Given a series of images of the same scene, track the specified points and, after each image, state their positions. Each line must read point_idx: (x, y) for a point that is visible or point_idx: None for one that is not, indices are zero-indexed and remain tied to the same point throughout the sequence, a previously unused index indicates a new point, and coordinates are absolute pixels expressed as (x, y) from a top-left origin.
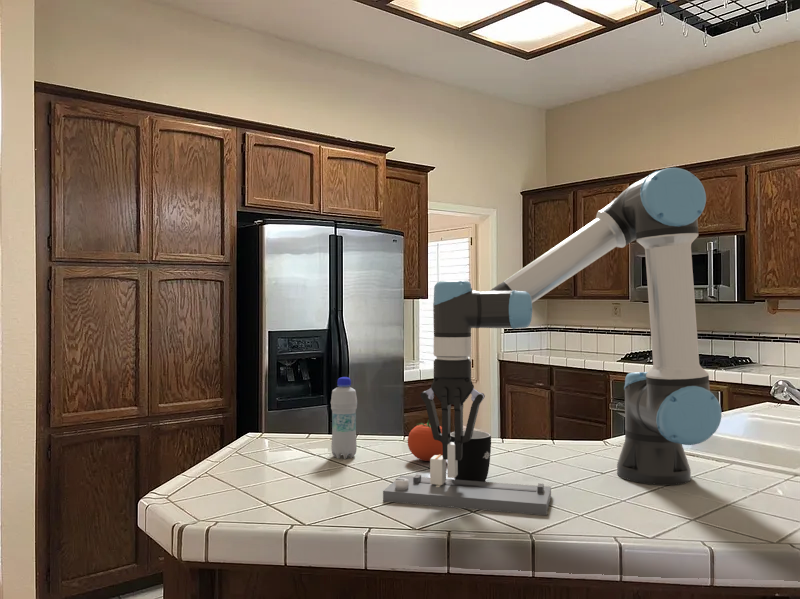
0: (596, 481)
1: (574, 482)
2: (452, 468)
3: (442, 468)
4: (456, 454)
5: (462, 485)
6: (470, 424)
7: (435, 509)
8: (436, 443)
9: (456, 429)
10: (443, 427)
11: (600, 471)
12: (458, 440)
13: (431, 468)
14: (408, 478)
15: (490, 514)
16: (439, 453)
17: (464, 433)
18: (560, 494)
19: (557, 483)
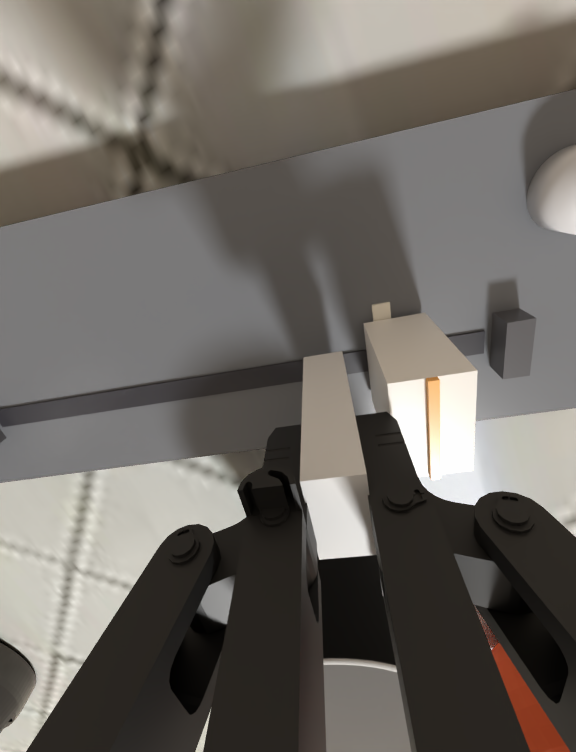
0: (26, 606)
1: (62, 586)
2: (316, 379)
3: (377, 368)
4: (298, 447)
5: (278, 367)
6: (66, 745)
7: (311, 87)
8: (528, 696)
9: (274, 638)
10: (465, 650)
11: (69, 664)
12: (262, 520)
13: (444, 345)
14: (562, 375)
15: (54, 152)
16: (499, 657)
17: (395, 738)
18: (21, 489)
19: (92, 568)
